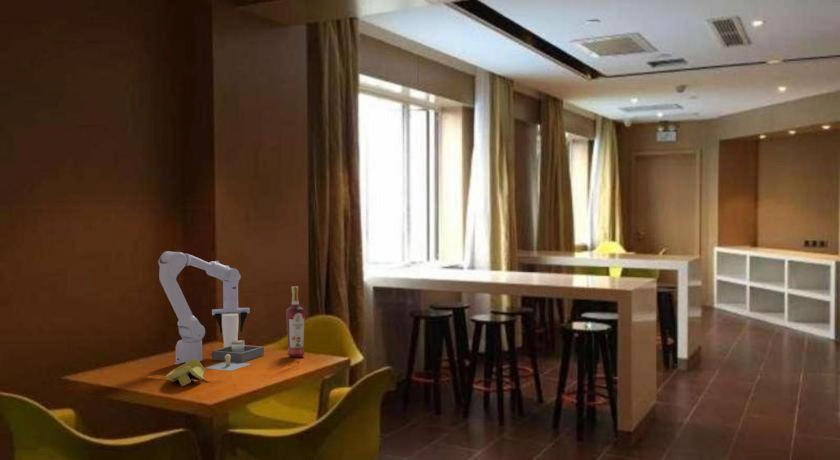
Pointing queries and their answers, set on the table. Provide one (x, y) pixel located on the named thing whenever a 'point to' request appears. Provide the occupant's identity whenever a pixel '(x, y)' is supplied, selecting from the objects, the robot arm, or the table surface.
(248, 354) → the bin
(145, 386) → the table surface
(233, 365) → the base
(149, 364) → the table surface
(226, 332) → the drinking glass
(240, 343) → the light grey block
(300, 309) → the liquor
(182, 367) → the plastic component
